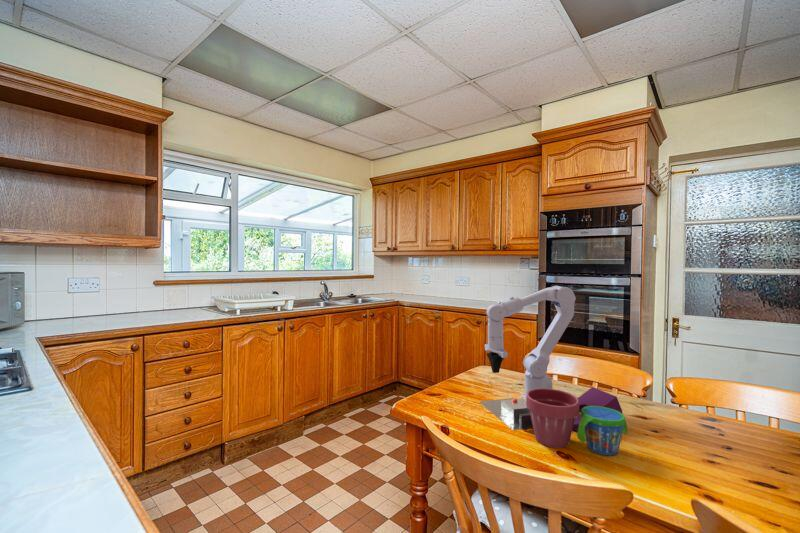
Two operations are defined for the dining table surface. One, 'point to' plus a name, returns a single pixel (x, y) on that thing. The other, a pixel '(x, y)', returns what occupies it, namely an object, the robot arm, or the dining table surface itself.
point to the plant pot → (552, 415)
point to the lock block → (513, 408)
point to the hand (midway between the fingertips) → (495, 372)
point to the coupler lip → (495, 408)
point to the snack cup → (602, 429)
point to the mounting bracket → (596, 402)
